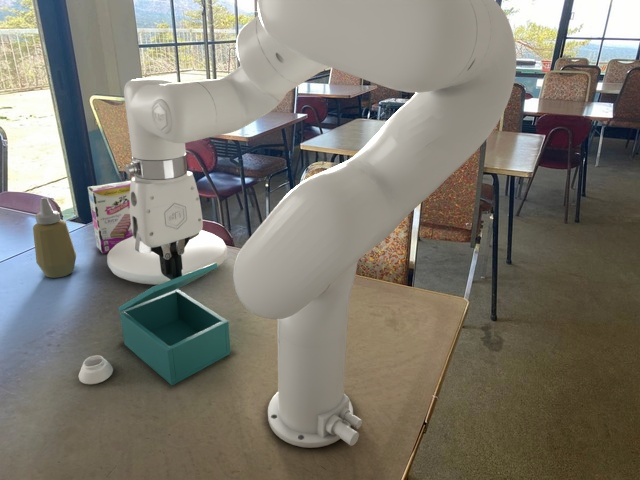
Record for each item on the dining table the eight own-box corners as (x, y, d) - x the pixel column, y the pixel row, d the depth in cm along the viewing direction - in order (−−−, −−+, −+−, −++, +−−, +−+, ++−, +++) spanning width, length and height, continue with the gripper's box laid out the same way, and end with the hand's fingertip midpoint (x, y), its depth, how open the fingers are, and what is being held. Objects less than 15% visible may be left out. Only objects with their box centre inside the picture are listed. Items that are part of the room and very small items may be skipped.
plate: (148, 220, 128) (243, 230, 124) (149, 243, 130) (242, 254, 126) (78, 252, 102) (195, 267, 97) (81, 281, 104) (196, 297, 99)
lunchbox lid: (218, 267, 79) (216, 262, 79) (154, 292, 71) (151, 287, 71) (178, 288, 91) (176, 284, 91) (119, 312, 83) (117, 307, 83)
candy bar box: (103, 255, 119) (92, 191, 112) (96, 248, 122) (85, 186, 116) (147, 244, 126) (139, 183, 119) (140, 238, 129) (132, 179, 123)
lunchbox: (230, 353, 84) (228, 321, 82) (171, 385, 76) (167, 350, 74) (181, 319, 94) (177, 288, 91) (124, 344, 86) (119, 312, 83)
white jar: (77, 372, 79) (82, 390, 75) (73, 357, 77) (79, 375, 74) (109, 362, 81) (116, 379, 77) (106, 348, 80) (113, 364, 76)
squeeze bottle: (64, 282, 106) (48, 205, 99) (31, 279, 107) (12, 202, 100) (86, 266, 113) (72, 193, 106) (55, 263, 114) (39, 191, 107)
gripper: (124, 182, 64) (141, 301, 71) (217, 163, 74) (224, 269, 81) (99, 170, 68) (117, 284, 76) (189, 154, 78) (198, 255, 86)
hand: (172, 276), depth 78 cm, fingers closed
